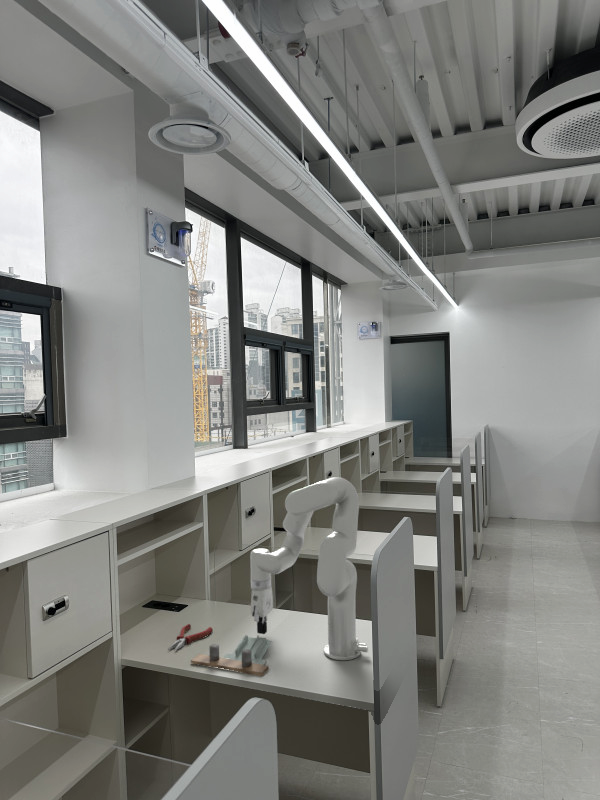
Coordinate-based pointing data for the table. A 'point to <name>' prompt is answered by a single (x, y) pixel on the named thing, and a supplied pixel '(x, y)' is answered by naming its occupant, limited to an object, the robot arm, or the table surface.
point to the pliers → (188, 637)
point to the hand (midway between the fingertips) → (262, 632)
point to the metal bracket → (253, 644)
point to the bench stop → (231, 662)
